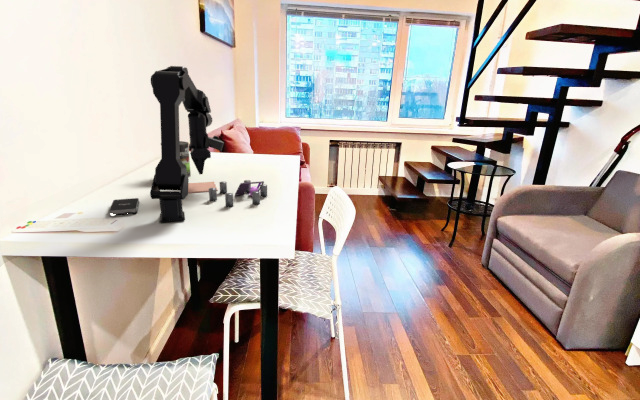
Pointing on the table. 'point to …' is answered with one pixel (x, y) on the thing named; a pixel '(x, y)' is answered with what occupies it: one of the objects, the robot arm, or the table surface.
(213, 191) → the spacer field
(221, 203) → the table surface
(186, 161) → the coffee can
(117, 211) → the external hard drive
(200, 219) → the table surface
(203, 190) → the mat
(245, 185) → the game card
